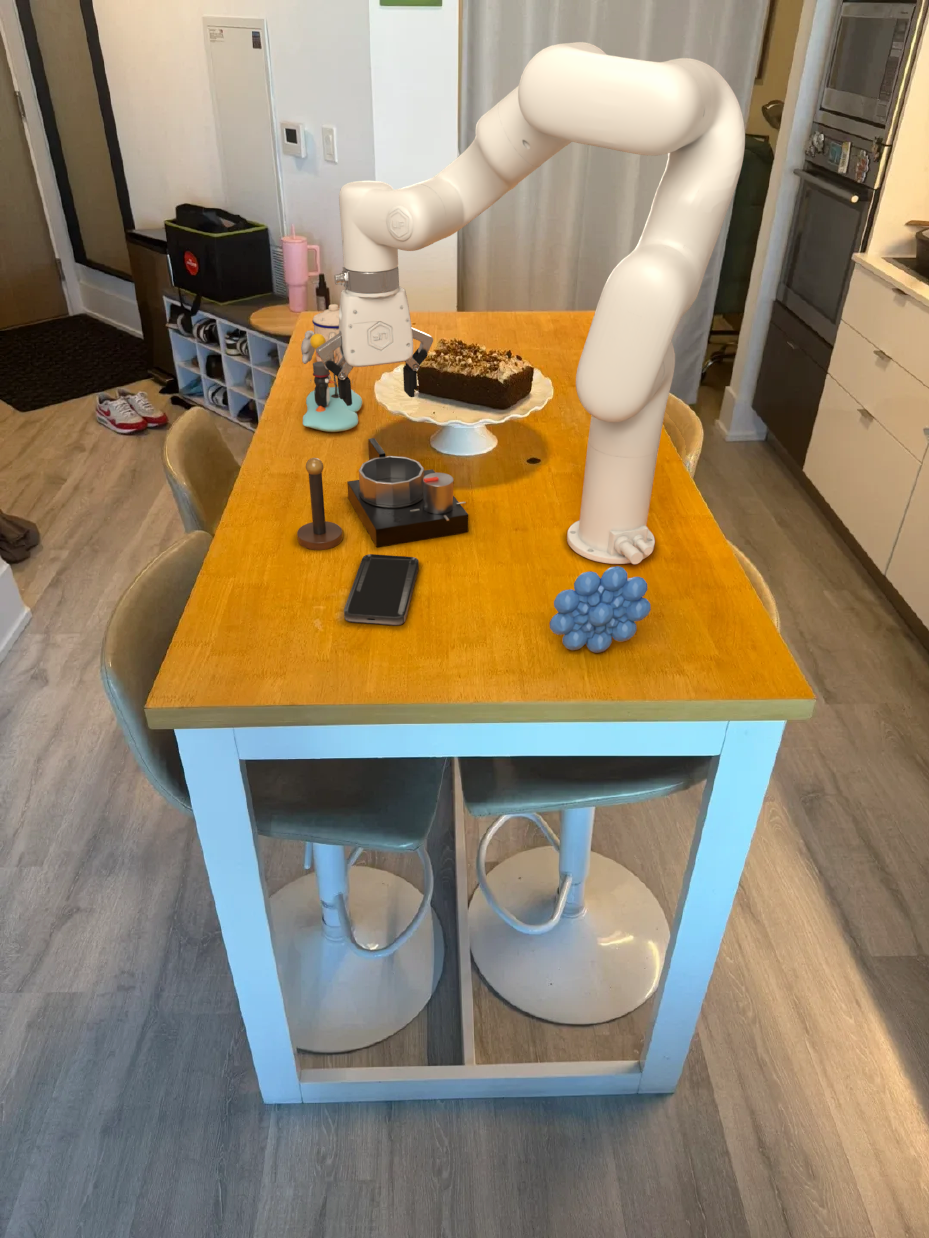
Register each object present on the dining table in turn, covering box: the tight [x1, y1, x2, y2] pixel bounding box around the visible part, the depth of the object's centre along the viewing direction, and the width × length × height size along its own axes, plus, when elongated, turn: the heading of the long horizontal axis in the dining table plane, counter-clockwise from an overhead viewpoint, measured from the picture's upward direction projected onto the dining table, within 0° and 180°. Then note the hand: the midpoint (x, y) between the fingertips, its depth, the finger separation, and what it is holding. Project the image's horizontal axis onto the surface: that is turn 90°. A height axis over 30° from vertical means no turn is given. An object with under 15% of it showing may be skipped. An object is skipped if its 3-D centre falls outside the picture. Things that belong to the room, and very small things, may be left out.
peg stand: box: [296, 457, 344, 551], centre depth 127 cm, size 6×6×13 cm
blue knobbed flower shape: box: [549, 565, 652, 654], centre depth 107 cm, size 12×7×12 cm, turn 89°
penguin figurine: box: [300, 330, 363, 433], centre depth 164 cm, size 20×11×15 cm, turn 1°
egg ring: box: [358, 437, 425, 505], centre depth 138 cm, size 16×9×4 cm, turn 21°
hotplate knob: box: [423, 472, 454, 514], centre depth 132 cm, size 4×4×5 cm
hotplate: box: [346, 468, 469, 548], centre depth 136 cm, size 17×15×3 cm
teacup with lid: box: [311, 303, 342, 364], centre depth 189 cm, size 12×9×12 cm
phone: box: [343, 553, 420, 626], centre depth 119 cm, size 8×1×15 cm
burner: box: [359, 478, 423, 508], centre depth 137 cm, size 10×10×1 cm
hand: (378, 398), depth 136 cm, fingers open, 9 cm apart
